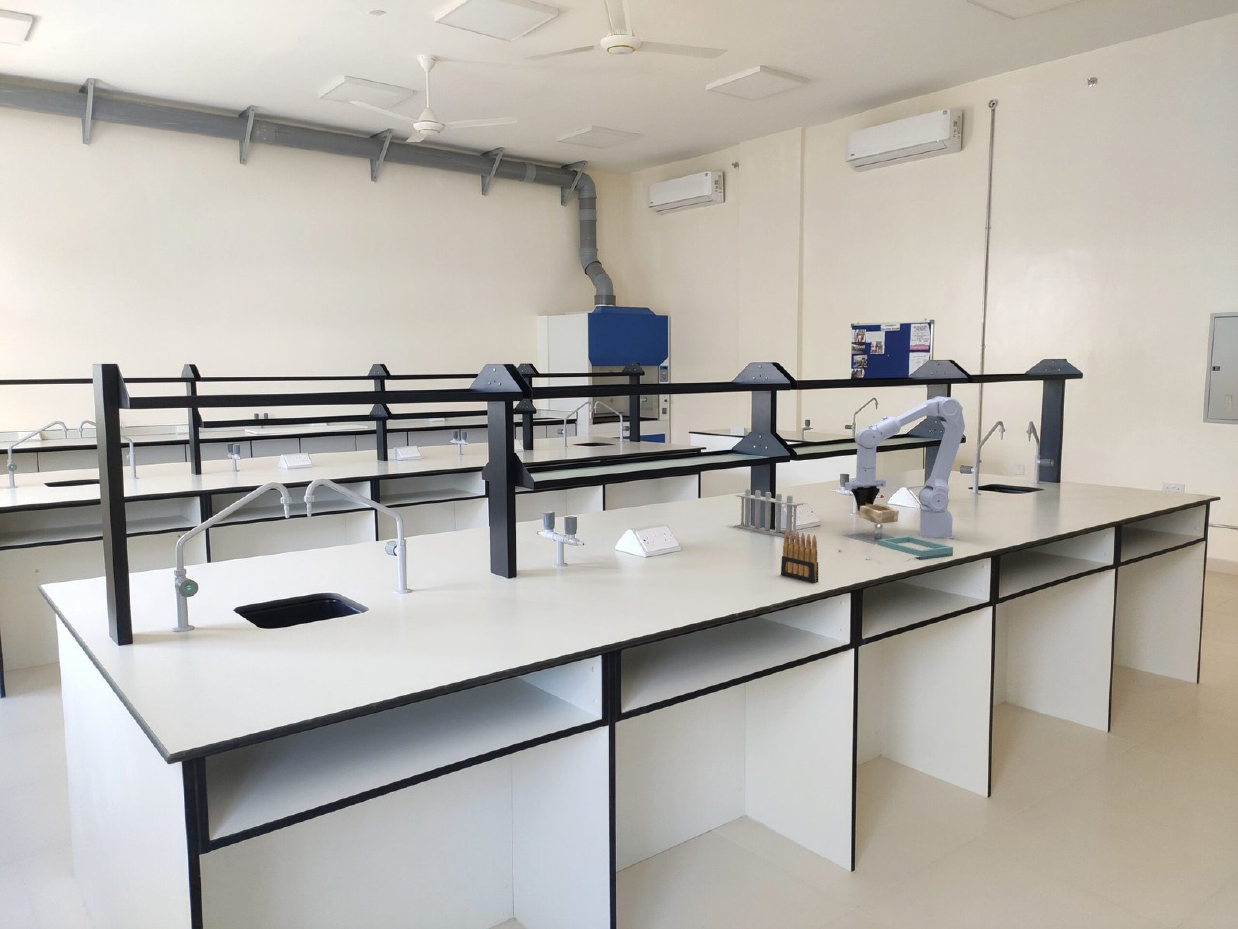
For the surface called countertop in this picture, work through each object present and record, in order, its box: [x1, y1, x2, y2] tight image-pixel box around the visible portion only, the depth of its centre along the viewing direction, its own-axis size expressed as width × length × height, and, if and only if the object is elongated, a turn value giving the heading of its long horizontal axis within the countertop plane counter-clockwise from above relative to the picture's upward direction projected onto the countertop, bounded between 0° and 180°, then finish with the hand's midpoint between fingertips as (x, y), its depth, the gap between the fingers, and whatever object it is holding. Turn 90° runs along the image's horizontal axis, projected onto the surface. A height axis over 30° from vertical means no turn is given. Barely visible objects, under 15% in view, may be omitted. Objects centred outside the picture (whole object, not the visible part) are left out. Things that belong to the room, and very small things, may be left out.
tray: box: [877, 535, 954, 561], centre depth 244 cm, size 12×17×2 cm
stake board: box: [843, 523, 897, 545], centre depth 259 cm, size 14×13×5 cm
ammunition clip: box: [780, 529, 819, 584], centre depth 214 cm, size 11×2×12 cm, turn 39°
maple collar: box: [856, 502, 900, 525], centre depth 259 cm, size 12×8×4 cm, turn 26°
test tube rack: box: [734, 488, 804, 540], centre depth 272 cm, size 25×4×13 cm, turn 39°
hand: (864, 510), depth 263 cm, fingers closed on maple collar, 2 cm apart
